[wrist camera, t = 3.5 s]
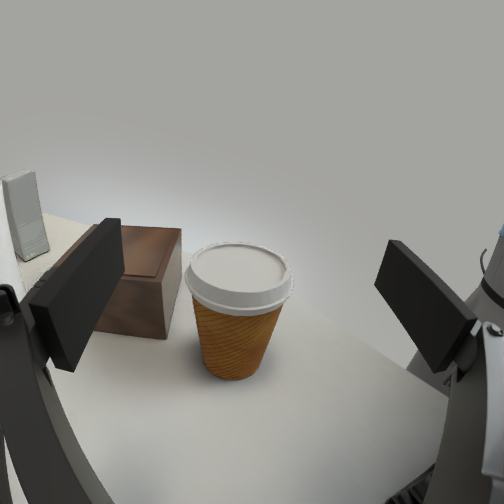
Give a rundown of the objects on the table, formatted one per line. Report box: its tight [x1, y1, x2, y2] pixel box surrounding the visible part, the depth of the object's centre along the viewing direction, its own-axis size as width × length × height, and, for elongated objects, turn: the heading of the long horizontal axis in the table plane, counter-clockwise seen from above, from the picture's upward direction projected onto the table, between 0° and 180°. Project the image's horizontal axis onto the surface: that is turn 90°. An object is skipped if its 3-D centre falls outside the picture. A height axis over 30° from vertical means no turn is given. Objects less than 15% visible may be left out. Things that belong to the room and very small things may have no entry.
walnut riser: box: [52, 224, 182, 340], centre depth 35 cm, size 14×14×8 cm
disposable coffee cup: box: [185, 242, 294, 380], centre depth 27 cm, size 10×10×12 cm
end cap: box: [385, 463, 436, 504], centre depth 11 cm, size 10×7×7 cm
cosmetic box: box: [1, 170, 50, 261], centre depth 40 cm, size 8×7×16 cm
